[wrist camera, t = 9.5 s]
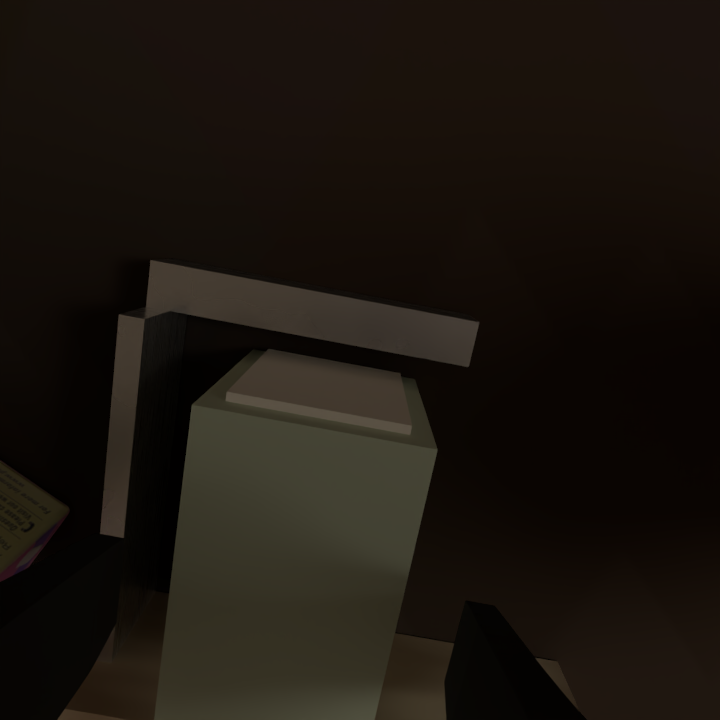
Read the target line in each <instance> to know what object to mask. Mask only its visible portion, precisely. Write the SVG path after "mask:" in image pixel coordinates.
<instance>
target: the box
mask: <svg viewBox="0 0 720 720" xmlns="http://www.w3.org/2000/svg"><path fill="white" fill-rule="evenodd" d="M69 513H70V509H69V507H68V506H67V505H66V504H64V503H63V502H61V501H60V500H58V499H57V498H55V497H54V496H52V495H51V494H49V493H48V492H46V491H45V490H43V489H42V488H40V487H39V486H38V485H36V484H35V483H33V482H32V481H30V480H29V479H27V478H26V477H24V476H23V475H22V474H20V473H19V472H17V471H16V470H14V469H13V468H11V467H10V466H8V465H7V464H6V463H4V462H3V461H1V460H0V582H1V581H3V580H5V579H7V578H9V577H11V576H13V575H15V574H17V573H19V572H21V571H22V570H24V569H26V568H28V567H29V566H30V565H31V563H32V562H33V561H34V560H35V558H36V557H37V556H38V554H39V553H40V552H41V550H42V549H43V548H44V546H45V545H46V544H47V542H48V541H49V540H50V539H51V537H52V536H53V534H54V533H55V532H56V530H57V529H58V528H59V526H60V525H61V524H62V522H63V521H64V520H65V518H66V517H67V516H68V514H69Z"/></svg>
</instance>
